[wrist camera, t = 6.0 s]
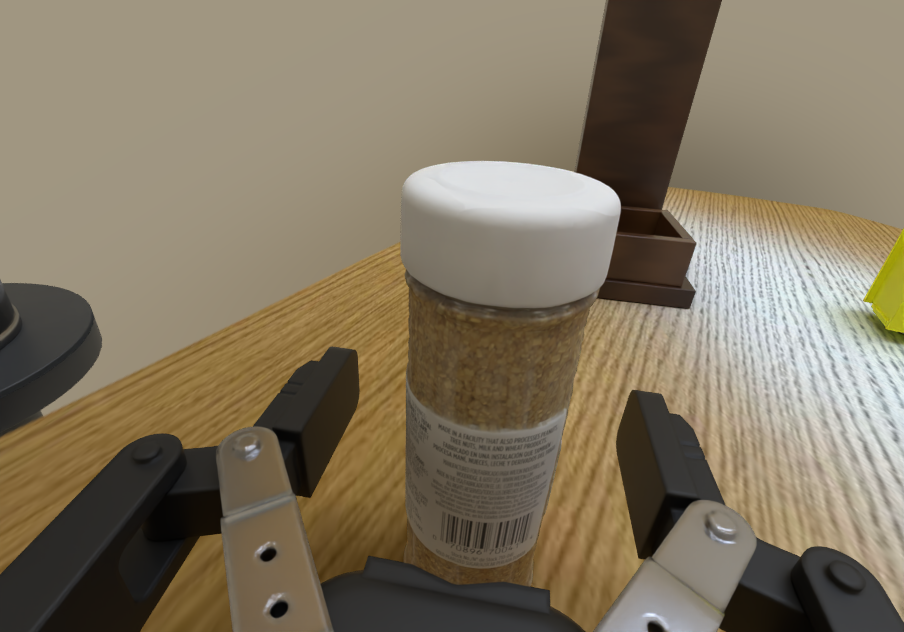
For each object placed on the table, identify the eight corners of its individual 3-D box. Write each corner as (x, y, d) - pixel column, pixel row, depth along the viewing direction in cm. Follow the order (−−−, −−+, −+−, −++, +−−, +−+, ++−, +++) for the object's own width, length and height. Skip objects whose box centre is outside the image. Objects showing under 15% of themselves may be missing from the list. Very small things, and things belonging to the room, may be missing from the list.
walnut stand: (555, 292, 36) (622, -60, 25) (550, 240, 46) (596, -25, 35) (689, 309, 34) (819, -53, 24) (654, 251, 45) (733, -19, 34)
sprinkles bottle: (536, 526, 18) (619, 166, 11) (523, 656, 14) (639, 224, 7) (422, 497, 18) (435, 148, 12) (380, 613, 15) (363, 189, 8)
